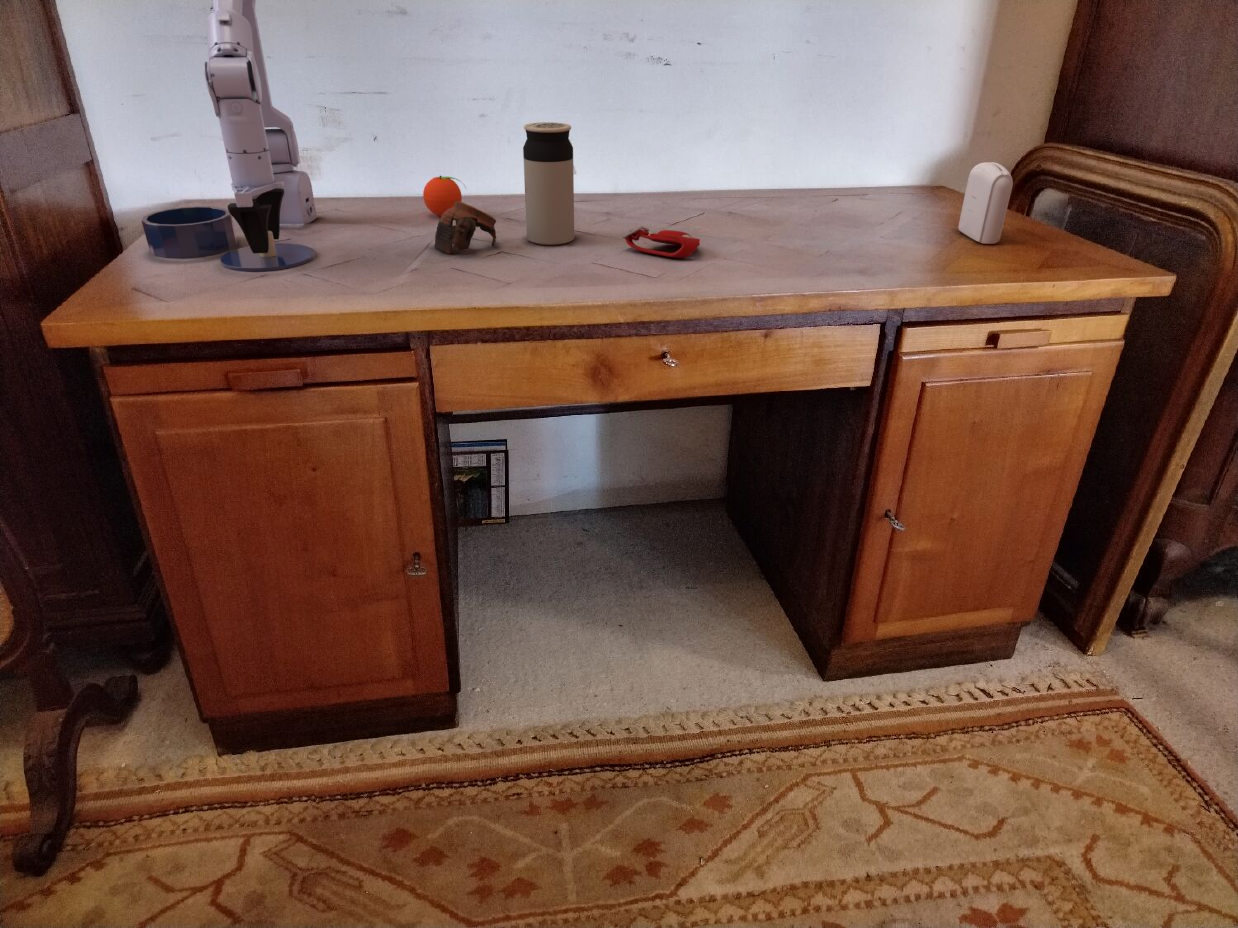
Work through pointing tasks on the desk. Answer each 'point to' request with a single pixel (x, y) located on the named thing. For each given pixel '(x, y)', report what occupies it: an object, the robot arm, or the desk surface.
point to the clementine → (441, 194)
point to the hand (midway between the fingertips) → (266, 245)
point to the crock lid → (268, 257)
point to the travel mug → (549, 183)
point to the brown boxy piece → (462, 227)
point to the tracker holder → (664, 241)
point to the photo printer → (986, 202)
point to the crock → (189, 232)
